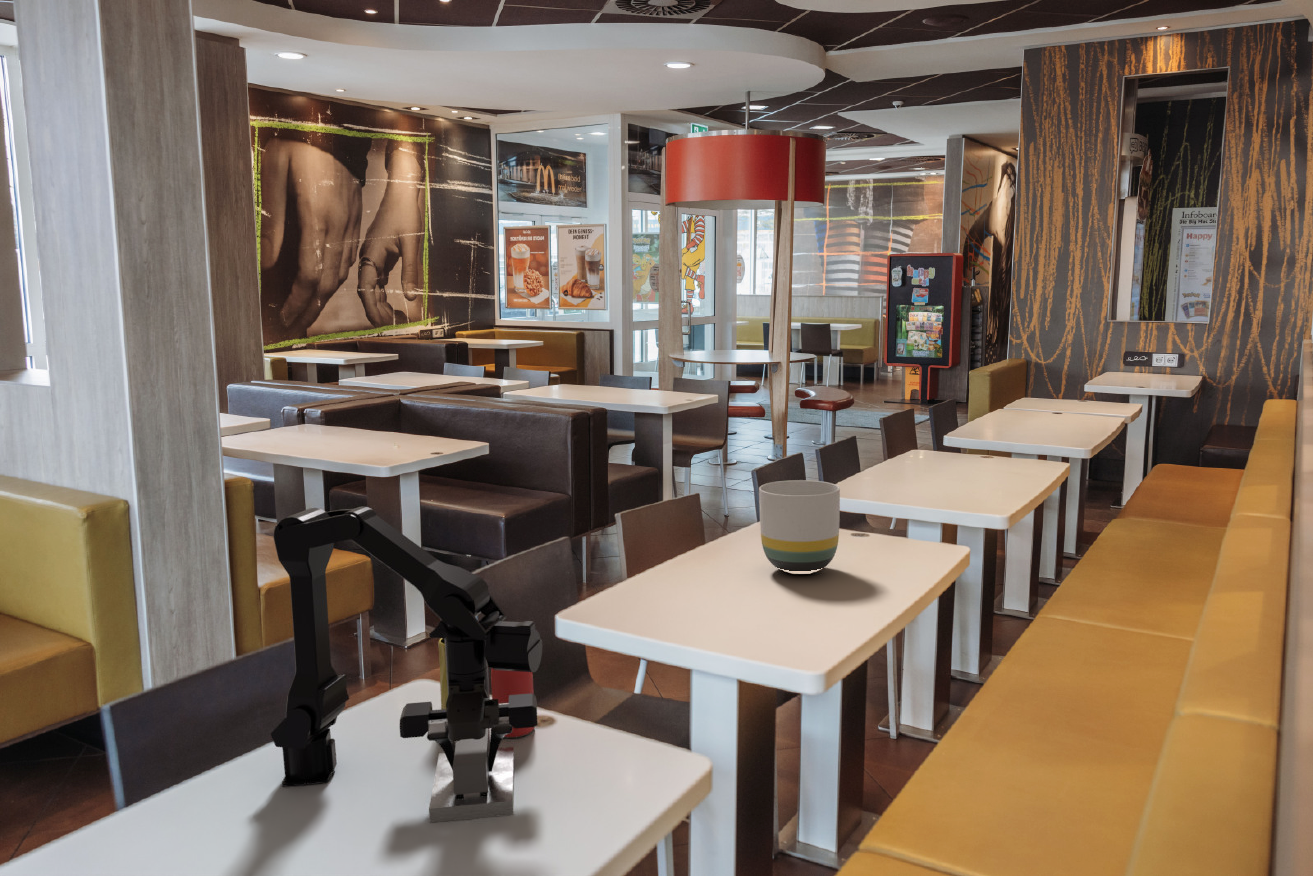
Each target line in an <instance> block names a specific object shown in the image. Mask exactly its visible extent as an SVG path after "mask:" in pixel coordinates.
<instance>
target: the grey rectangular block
mask: <svg viewBox="0 0 1313 876" xmlns="http://www.w3.org/2000/svg"><path fill="white" fill-rule="evenodd" d="M490 736H491V731H490V728H489V729H486V734H485V736H484V737H483V738H481V739H477V740H475V739H464V740H460V741H455V754H454V761H453V782H454V795H458V794H464V797H463V798H473V797H482V795H481V792H487V790H488V775H489V766H488V759H489V747H490Z"/></svg>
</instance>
